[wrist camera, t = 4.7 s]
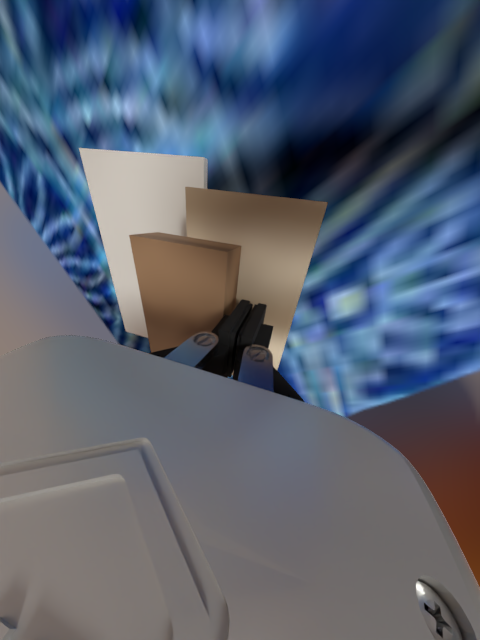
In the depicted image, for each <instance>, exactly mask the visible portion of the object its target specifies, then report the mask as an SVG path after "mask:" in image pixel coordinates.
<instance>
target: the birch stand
mask: <svg viewBox="0 0 480 640" xmlns="http://www.w3.org/2000/svg"><path fill="white" fill-rule="evenodd" d="M185 196H186V225H187V237H191V238H197V239H203V240H209V241H216V242H222V243H228V244H234V245H240V246H241V255H240V265H239V275H238V285H237V294H236V304H235V308H236V306H237V305H238V304H239V302H240V301H241V300H242V299H243V300H248V301H250V303H251V304H253V307H254V305H255V304H256V305H258V303H261V304H266V305H267V308H266V313H265V318H264V323H263V324H267V325H271V326H274V327H273V331H272V336H271V340H270V344H269V348H268V349H269V350H270V351H271V353H272V355H273V367H274V368H275V369H276V370H277V369H278V366H279V363H280V360H281V356H282V353H283V350H284V346H285V343H286V340H287V336H288V333H289V330H290V326H291V323H292V320H293V316H294V313H295V310H296V306H297V303H298V300H299V296H300V293H301V290H302V287H303V283H304V280H305V277H306V273H307V270H308V267H309V263H310V260H311V257H312V253H313V250H314V247H315V243H316V240H317V237H318V233H319V230H320V227H321V224H322V220H323V217H324V214H325V210H326V207H327V204H328V202H321V201H312V200H303V199H294V198H285V197H276V196H266V195H257V194H248V193H239V192H230V191H221V190H212V189H203V188H194V187H185ZM253 307H252V309H253ZM233 372H234V371H233ZM232 375H233V373H232Z"/></svg>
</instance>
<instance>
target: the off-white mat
mask: <svg viewBox="0 0 480 640" xmlns="http://www.w3.org/2000/svg"><path fill="white" fill-rule="evenodd" d="M79 151H80V154H81V158H82V162H83V166H84V170H85V174H86V178H87V182H88V186H89V190H90V194H91V197H92V201H93V205H94V209H95V213H96V217H97V221H98V225H99V229H100V233H101V237H102V240H103V244H104V248H105V252H106V256H107V260H108V264H109V268H110V272H111V276H112V280H113V283H114V287H115V291H116V295H117V299H118V303H119V307H120V311H121V315H122V319H123V323H124V326H125V330H126V332H130V333H133V334H136V335H140V336H143V337H146V338H148V333H147V328H146V322H145V317H144V312H143V306H142V301H141V296H140V291H139V285H138V280H137V275H136V269H135V264H134V259H133V253H132V248H131V243H130V238H129V235H134V234H144V233H154V232H160V233H167V234H173V235H179V236H185V237H187V225H186V196H185V187H194V188H203V189H207V166H208V160H207V159H206V158H204V157H193V156H180V155H166V154H153V153H139V152H126V151H113V150H99V149H86V148H79Z"/></svg>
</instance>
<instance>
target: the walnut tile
mask: <svg viewBox="0 0 480 640" xmlns="http://www.w3.org/2000/svg"><path fill="white" fill-rule="evenodd" d="M129 238H130V243H131V248H132V253H133V259H134V264H135V269H136V275H137V280H138V285H139V291H140V296H141V301H142V306H143V312H144V317H145V322H146V328H147V333H148V338H149V344H150V349H151V353H152V352H156V351H160V350H165V349H169V348H174V347H178V346H180V345H181V344H182V343H184V342H185V341H186V340H187V339H189V338H190V337H191V336H193V335H194V334H196V333H198V332H204V331H206V332H211V331H212V330H213V329H214V328H215V326H216V325H217V324H218V323H219V321H220V320H221V319H222V318H223V316H224V315H229V316H230V314H231V313H232V312H233V310H234V309H235V304H236V294H237V285H238V275H239V265H240V255H241V246H240V245H234V244H228V243H222V242H216V241H209V240H203V239H197V238H191V237H185V236H179V235H173V234H167V233H160V232H154V233H144V234H134V235H129Z"/></svg>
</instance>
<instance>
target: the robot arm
mask: <svg viewBox="0 0 480 640" xmlns="http://www.w3.org/2000/svg"><path fill="white" fill-rule="evenodd" d="M252 307H253V304H251V303H250V301H248V300H243V299H242V300H241V301H240V302H239V304H238V305H237V306H236V308H235V309H234V310H233V312H232V313H231V314H230V316H229V315H224V316H223V318H222V319H221V320H220V321H219V323H218V324H217V325H216V326H215V328H214V329H213V330H212V331H211V332H206V331H204V332H198V333H196V334H194V335H193V336H191V337H190V338H189V339H187V340H186V341H185V342H184V343H182V344H181V345H180V346H178V347H174V348H169V349H165V350H160V351H156V352H152V353H146V352H142V351H139V350H136V349H132V348H129V347H126V346H123V345H119V344H116V343H112V342H108V341H104V340H101V339H96V338H91V337H84V336H70V335H69V336H54V337H47V338H44V339H40V340H38V341H35V342H32V343H30V344H27V345H25V346H23V347H20V348H18V349H15V350H13V351H11V352H9V353H6V354H4V355H2V356H0V640H480V588H479V586H478V583H477V582H476V580H475V578H474V575H473V573H472V571H471V569H470V567H469V565H468V563H467V561H466V559H465V557H464V555H463V553H462V551H461V549H460V546H459V545H458V542H457V540H456V538H455V537H454V535H453V533H452V531H451V529H450V527H449V525H448V523H447V521H446V519H445V517H444V515H443V514H442V512H441V510H440V508H439V506H438V505H437V503H436V501H435V499H434V497H433V496H432V494H431V492H430V490H429V489H428V487H427V486H426V484H425V483H424V481H423V479H422V478H421V477H420V475H419V474H418V472H417V471H416V469H415V468H414V467H413V466H412V465H411V463H410V462H409V461H408V460H407V459H406V458H405V457H404V456H403V455H402V454H401V453H400V452H399V451H398V450H397V449H395V448H394V447H393V446H392V445H390V444H389V443H388V442H386V441H385V440H384V439H382V438H381V437H379V436H378V435H376V434H375V433H373V432H371V431H370V430H368V429H367V428H365V427H363V426H361V425H359V424H358V423H356V422H354V421H351V420H350V419H348V418H345V417H343V416H341V415H338V414H336V413H334V412H331V411H328V410H325V409H322V408H320V407H317V406H314V405H311V404H308V403H305V402H304V401H303V399H302V398H301V397H300V396H299V395H298V394H297V392H296V391H295V390H294V389H293V388H292V387H291V386H290V385H289V384H288V382H287V381H286V380H285V379H284V378H283V377H282V376H281V375H280V373H279V372H278V371H277V370H276V369H275V368H274V367H273V355H272V353H271V351H270V350H269V349H268V348H269V344H270V340H271V336H272V331H273V327H274V326H271V325H267V324H263V323H264V318H265V313H266V308H267V305H266V304H261V303H258V305H256V304H255V305H254V307H253V309H252ZM233 371H234V372H233ZM232 373H233V378H234V379H229V378H227V377H231V375H232Z"/></svg>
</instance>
